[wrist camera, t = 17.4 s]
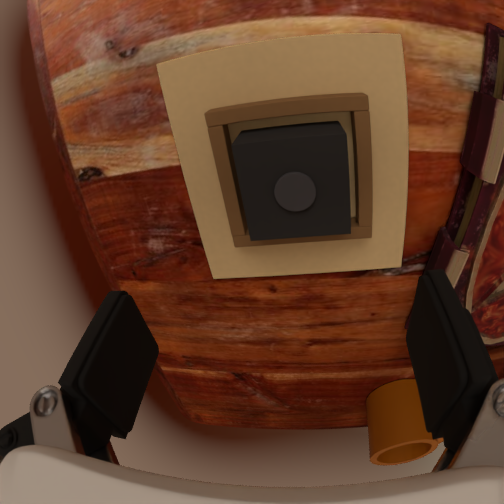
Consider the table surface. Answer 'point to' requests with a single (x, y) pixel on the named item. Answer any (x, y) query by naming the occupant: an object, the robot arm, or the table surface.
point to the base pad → (287, 113)
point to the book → (480, 205)
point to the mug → (397, 424)
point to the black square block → (294, 180)
